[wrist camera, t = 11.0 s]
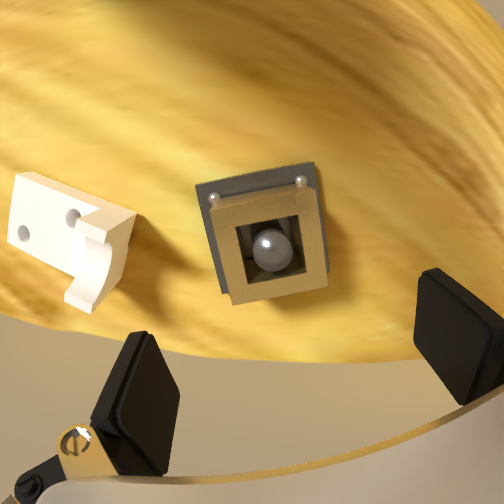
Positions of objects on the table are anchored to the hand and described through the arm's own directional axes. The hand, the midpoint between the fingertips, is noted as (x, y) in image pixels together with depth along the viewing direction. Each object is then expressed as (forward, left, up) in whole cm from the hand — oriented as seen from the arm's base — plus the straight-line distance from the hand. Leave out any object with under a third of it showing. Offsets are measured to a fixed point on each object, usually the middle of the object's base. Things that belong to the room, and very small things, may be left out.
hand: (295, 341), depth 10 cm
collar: (+1, 0, -16) cm, 16 cm away
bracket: (-4, -18, -18) cm, 26 cm away
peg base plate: (+1, 0, -18) cm, 18 cm away
